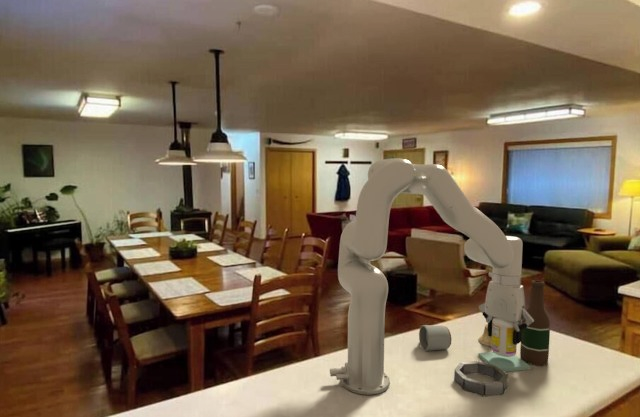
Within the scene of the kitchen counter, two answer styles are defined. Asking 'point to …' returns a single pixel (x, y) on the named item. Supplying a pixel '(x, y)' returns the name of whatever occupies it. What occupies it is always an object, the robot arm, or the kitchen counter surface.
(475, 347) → the kitchen counter surface
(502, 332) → the supplement bottle
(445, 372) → the kitchen counter surface
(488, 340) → the hand bell
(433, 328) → the ceramic mug
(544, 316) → the beer bottle
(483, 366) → the collar
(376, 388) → the robot arm
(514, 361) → the pad
